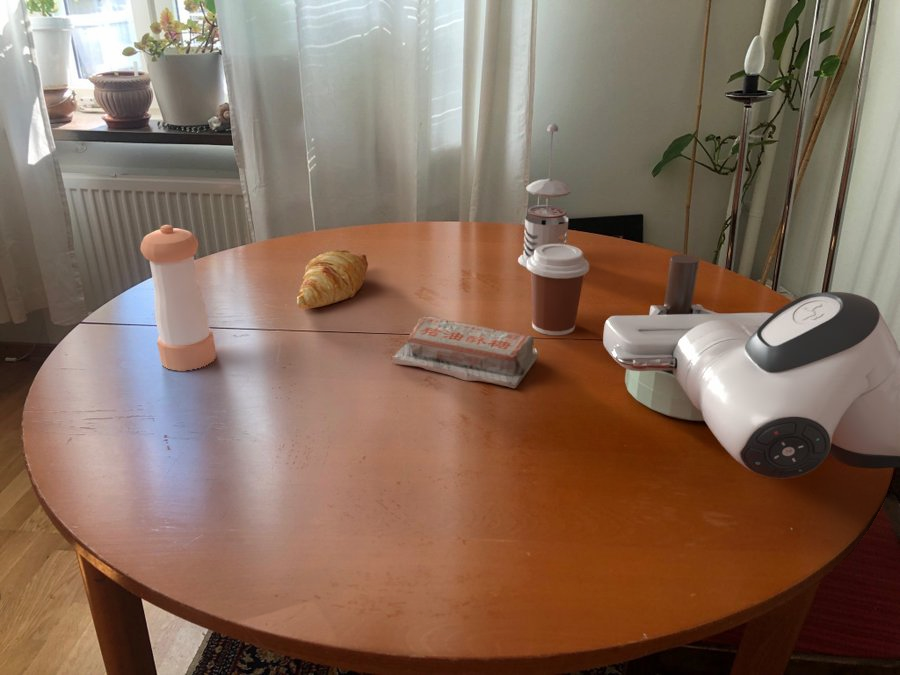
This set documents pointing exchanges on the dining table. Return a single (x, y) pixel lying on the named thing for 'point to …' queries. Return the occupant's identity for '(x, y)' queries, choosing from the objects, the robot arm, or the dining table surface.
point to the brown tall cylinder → (680, 285)
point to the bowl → (661, 394)
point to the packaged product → (468, 351)
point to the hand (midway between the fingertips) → (674, 310)
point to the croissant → (331, 278)
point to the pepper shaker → (178, 300)
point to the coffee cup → (556, 287)
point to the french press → (545, 214)
